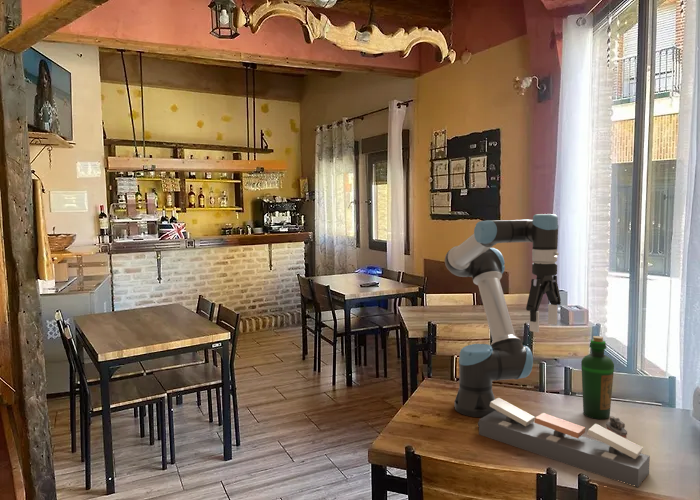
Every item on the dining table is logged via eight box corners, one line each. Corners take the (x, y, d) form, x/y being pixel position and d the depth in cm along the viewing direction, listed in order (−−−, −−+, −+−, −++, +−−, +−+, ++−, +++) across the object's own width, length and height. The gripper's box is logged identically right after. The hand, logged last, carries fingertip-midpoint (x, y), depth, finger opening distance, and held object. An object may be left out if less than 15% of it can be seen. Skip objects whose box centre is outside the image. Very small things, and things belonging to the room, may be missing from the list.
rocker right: (587, 434, 147) (588, 429, 147) (594, 428, 151) (595, 423, 150) (635, 459, 138) (637, 454, 138) (641, 452, 142) (643, 447, 142)
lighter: (602, 445, 159) (603, 413, 158) (613, 444, 159) (614, 413, 158) (618, 457, 151) (619, 424, 150) (629, 457, 151) (630, 424, 150)
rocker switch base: (470, 431, 170) (470, 412, 169) (486, 422, 177) (486, 403, 176) (637, 487, 135) (638, 462, 134) (649, 473, 142) (649, 449, 141)
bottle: (617, 422, 175) (619, 341, 173) (583, 420, 178) (585, 340, 175) (608, 410, 186) (610, 334, 184) (576, 408, 188) (578, 333, 186)
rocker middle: (534, 422, 158) (535, 417, 158) (542, 417, 162) (542, 412, 162) (577, 438, 149) (578, 433, 149) (584, 432, 153) (585, 427, 153)
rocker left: (489, 406, 169) (490, 401, 168) (497, 401, 173) (498, 397, 172) (525, 426, 160) (527, 421, 160) (533, 421, 164) (534, 416, 164)
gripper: (538, 266, 153) (537, 336, 155) (572, 259, 171) (570, 322, 173) (515, 265, 158) (514, 332, 160) (549, 258, 176) (548, 319, 178)
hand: (543, 327), depth 166 cm, fingers open, 13 cm apart
